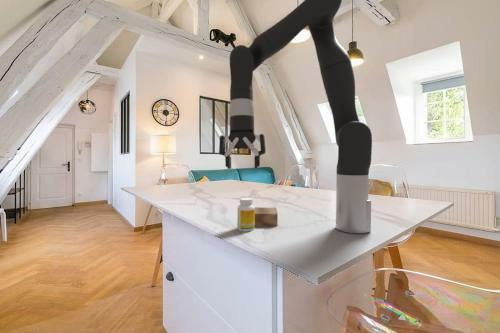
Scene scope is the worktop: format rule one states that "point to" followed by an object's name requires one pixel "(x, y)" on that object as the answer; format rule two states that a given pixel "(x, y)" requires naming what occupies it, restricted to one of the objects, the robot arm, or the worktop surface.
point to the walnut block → (266, 216)
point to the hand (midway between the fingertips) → (242, 168)
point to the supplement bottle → (246, 215)
